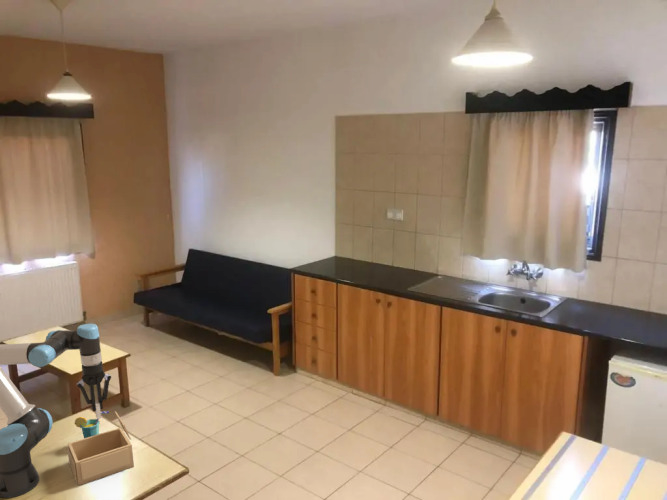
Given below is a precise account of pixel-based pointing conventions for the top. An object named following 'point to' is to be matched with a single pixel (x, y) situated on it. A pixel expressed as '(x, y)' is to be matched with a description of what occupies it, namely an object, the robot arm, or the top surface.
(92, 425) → the cup
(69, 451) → the open wooden box
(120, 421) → the flap
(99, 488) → the top surface
